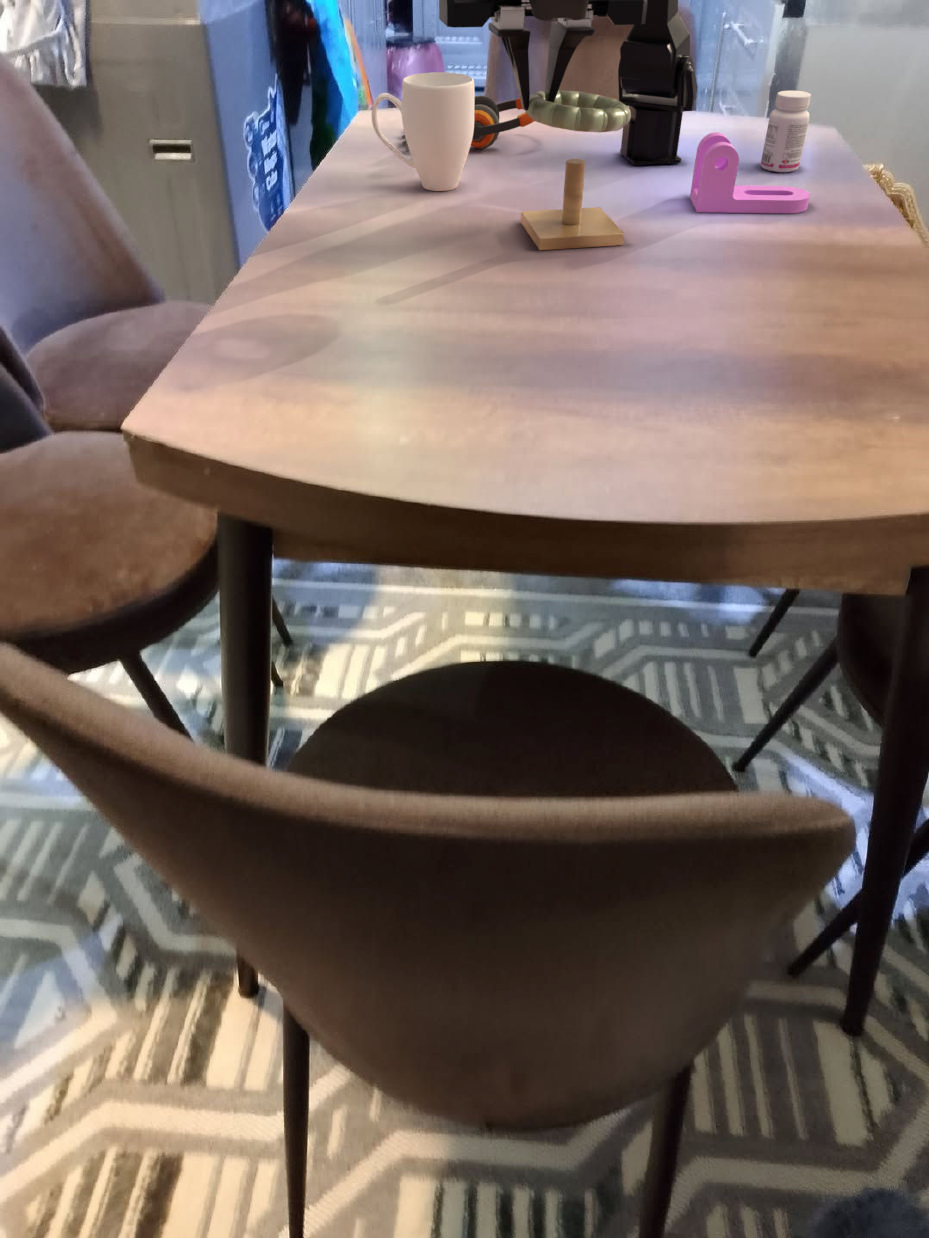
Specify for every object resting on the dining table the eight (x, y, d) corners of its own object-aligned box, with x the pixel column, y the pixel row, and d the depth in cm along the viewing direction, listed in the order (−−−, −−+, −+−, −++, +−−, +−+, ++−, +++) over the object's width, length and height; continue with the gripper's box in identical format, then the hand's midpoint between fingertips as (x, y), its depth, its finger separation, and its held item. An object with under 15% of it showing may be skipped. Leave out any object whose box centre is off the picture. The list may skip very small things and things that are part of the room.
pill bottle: (801, 165, 118) (817, 91, 112) (794, 175, 114) (811, 99, 109) (763, 161, 119) (778, 88, 114) (756, 170, 116) (771, 95, 110)
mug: (474, 176, 114) (474, 72, 106) (473, 196, 108) (474, 87, 100) (379, 176, 114) (372, 72, 107) (372, 196, 108) (365, 87, 100)
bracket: (696, 212, 103) (707, 145, 99) (689, 197, 107) (699, 132, 103) (812, 213, 103) (828, 146, 98) (800, 198, 107) (815, 133, 102)
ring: (610, 114, 96) (613, 92, 95) (640, 137, 88) (645, 114, 87) (514, 108, 94) (517, 86, 93) (537, 131, 87) (540, 107, 85)
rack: (599, 218, 102) (605, 147, 97) (623, 245, 95) (631, 171, 90) (520, 222, 100) (523, 151, 96) (539, 250, 94) (543, 175, 89)
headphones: (399, 107, 131) (536, 71, 128) (409, 146, 134) (542, 112, 131) (390, 137, 118) (541, 99, 115) (401, 180, 122) (548, 143, 118)
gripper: (457, -85, 73) (456, 131, 83) (679, -85, 75) (653, 125, 85) (437, -92, 81) (439, 105, 91) (637, -92, 84) (618, 100, 94)
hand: (536, 109), depth 90 cm, fingers closed on ring, 2 cm apart
